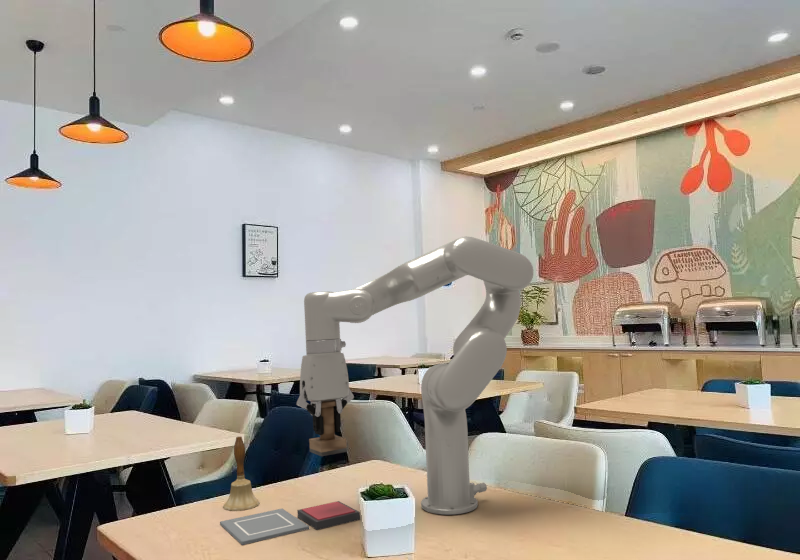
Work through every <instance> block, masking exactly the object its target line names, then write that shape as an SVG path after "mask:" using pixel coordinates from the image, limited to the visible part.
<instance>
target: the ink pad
mask: <svg viewBox="0 0 800 560" xmlns="http://www.w3.org/2000/svg"><path fill="white" fill-rule="evenodd" d="M296 513H297V518H298V519H299V520H301V521H302V522H304V523H305V524H307V525H308V526H309V527H312V528H313V529H315V530H316V531H318V530H322V529H327V528H331V527H335V526H339V525H343V524H348V523H352V522H356V521H360V520H361V514H360V513H361V512H360V511H359V510H357V509H355V508H353V507H351V506H349V505H347V504H345V503H343V502H341V501H339V500H338V501H333V502H328V503H324V504H319V505H314V506H310V507H305V508H301V509H297V512H296Z"/></svg>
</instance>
